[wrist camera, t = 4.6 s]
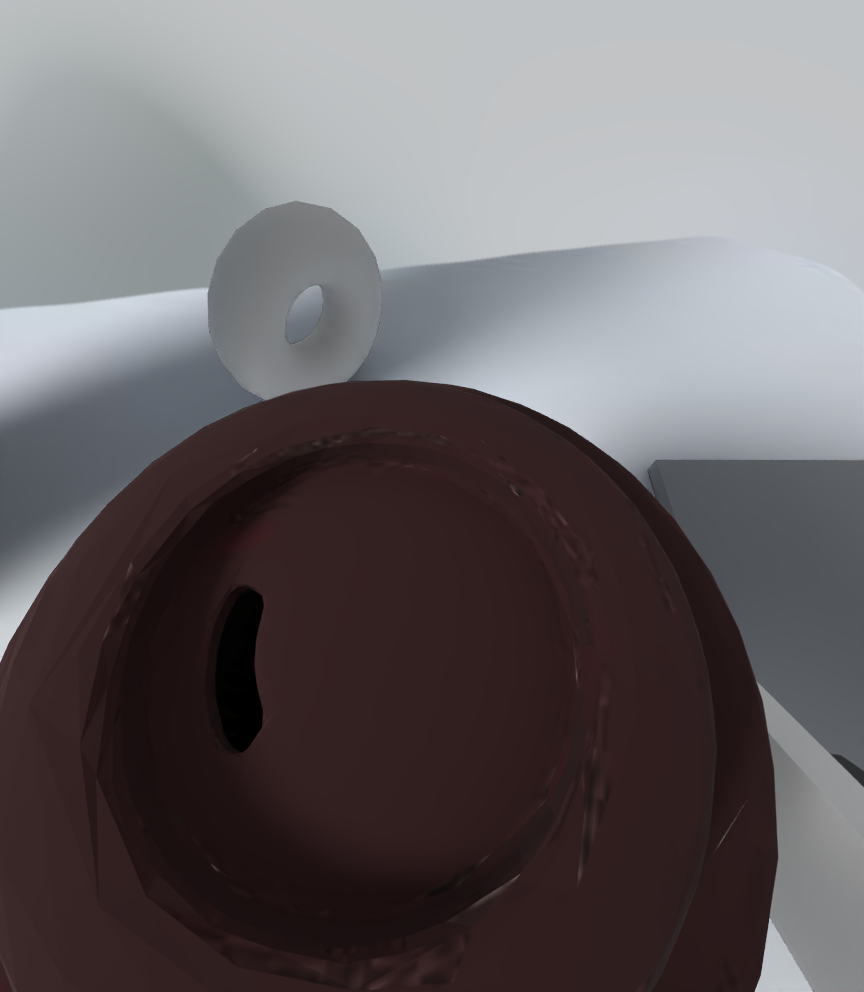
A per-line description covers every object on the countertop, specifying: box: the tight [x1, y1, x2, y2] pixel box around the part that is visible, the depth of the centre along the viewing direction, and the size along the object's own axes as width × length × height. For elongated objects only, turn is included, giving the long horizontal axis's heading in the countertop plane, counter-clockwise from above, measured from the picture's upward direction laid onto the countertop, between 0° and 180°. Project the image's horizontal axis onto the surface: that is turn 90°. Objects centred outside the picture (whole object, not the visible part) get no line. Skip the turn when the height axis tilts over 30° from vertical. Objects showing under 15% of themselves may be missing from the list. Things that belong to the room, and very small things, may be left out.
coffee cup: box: [0, 380, 778, 992], centre depth 11 cm, size 10×10×15 cm
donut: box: [208, 201, 382, 400], centre depth 22 cm, size 10×4×10 cm, turn 139°
